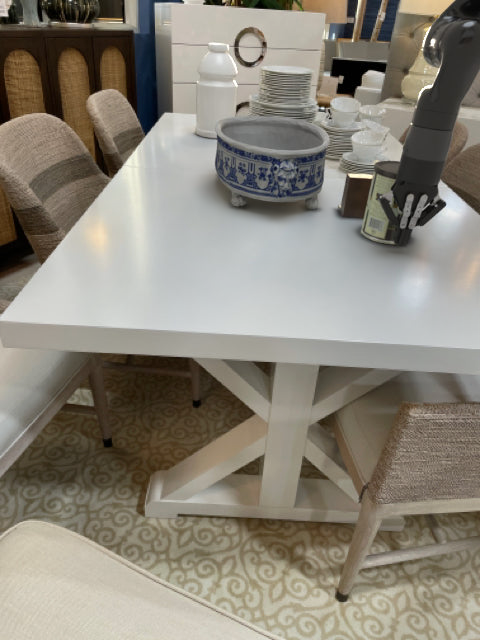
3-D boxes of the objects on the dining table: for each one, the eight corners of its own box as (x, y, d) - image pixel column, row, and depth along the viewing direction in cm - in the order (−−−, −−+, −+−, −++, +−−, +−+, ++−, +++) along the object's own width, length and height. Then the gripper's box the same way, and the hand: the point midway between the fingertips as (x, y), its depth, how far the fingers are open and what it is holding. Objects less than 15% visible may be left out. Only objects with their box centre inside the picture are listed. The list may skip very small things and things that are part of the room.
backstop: (403, 212, 112) (413, 174, 107) (410, 220, 108) (421, 181, 103) (337, 209, 111) (344, 170, 106) (342, 217, 107) (350, 177, 102)
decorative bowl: (342, 223, 103) (356, 153, 95) (222, 222, 99) (226, 149, 91) (296, 168, 138) (303, 113, 130) (205, 165, 134) (207, 108, 126)
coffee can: (411, 231, 102) (430, 165, 95) (407, 248, 94) (427, 178, 86) (364, 221, 105) (378, 157, 97) (356, 238, 97) (371, 169, 89)
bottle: (238, 133, 172) (244, 44, 157) (229, 141, 161) (234, 46, 146) (202, 128, 174) (203, 41, 159) (190, 136, 163) (191, 42, 148)
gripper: (394, 156, 79) (371, 251, 88) (470, 161, 80) (439, 254, 89) (381, 145, 85) (361, 235, 94) (452, 150, 86) (425, 238, 95)
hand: (399, 244), depth 92 cm, fingers closed
